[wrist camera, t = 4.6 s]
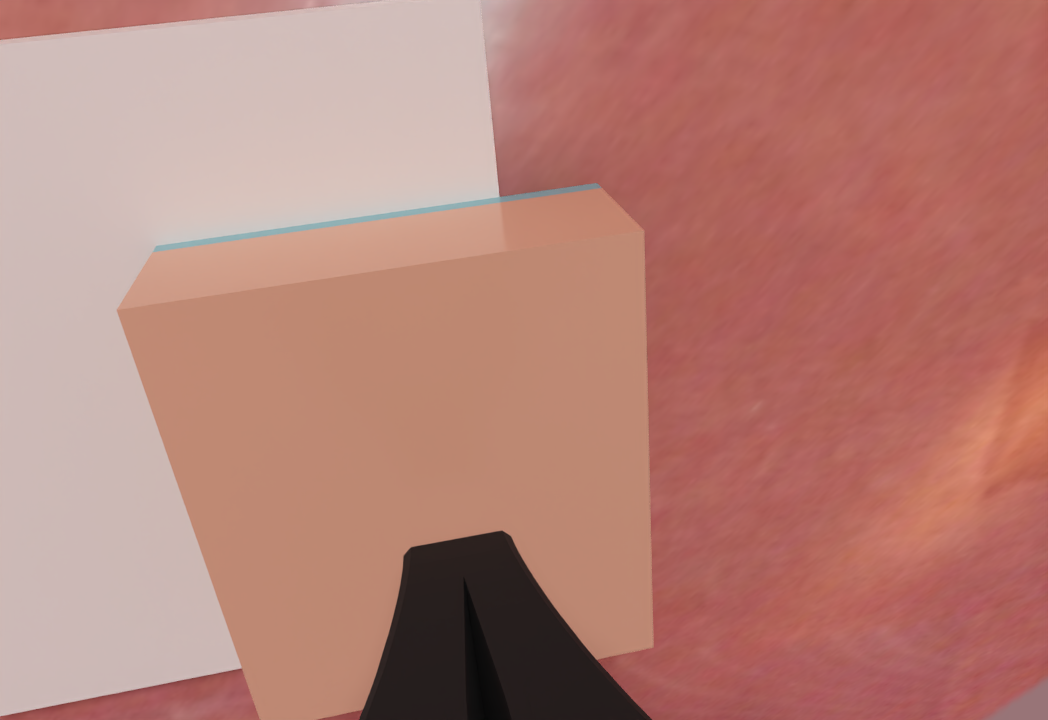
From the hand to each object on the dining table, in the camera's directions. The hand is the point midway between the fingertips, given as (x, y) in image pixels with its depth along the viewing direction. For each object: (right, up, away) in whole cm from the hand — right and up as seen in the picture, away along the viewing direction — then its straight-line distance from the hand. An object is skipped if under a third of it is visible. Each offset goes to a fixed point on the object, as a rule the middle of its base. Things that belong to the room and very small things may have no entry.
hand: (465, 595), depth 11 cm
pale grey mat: (-5, +3, +4) cm, 7 cm away
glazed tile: (+3, +2, +3) cm, 5 cm away
